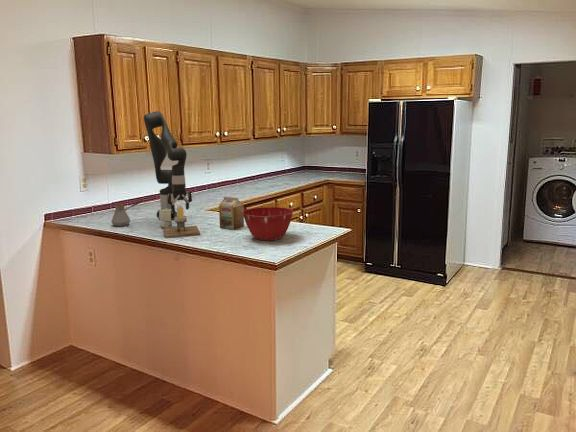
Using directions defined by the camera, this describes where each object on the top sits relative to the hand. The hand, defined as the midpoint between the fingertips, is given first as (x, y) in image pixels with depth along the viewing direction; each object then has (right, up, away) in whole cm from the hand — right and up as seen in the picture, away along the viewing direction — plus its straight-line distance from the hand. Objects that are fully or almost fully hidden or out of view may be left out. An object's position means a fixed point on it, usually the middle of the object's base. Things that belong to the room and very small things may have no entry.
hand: (180, 210), depth 296 cm
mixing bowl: (+52, -16, -11) cm, 56 cm away
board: (0, -13, +3) cm, 14 cm away
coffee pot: (-39, -9, +27) cm, 48 cm away
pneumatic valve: (-12, -10, +19) cm, 25 cm away
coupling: (0, -7, +1) cm, 7 cm away
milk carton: (+29, -11, +15) cm, 34 cm away
